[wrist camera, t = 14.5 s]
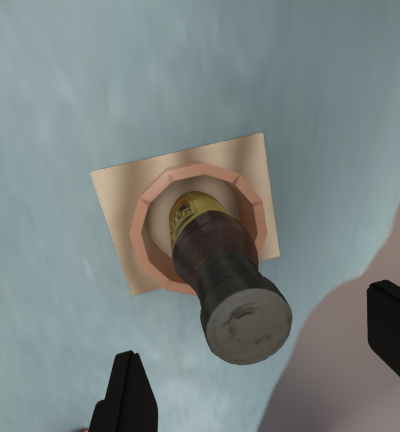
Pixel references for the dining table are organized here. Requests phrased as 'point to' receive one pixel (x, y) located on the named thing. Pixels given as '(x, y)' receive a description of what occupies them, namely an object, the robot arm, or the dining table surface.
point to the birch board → (161, 206)
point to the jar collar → (140, 235)
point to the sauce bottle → (227, 281)
